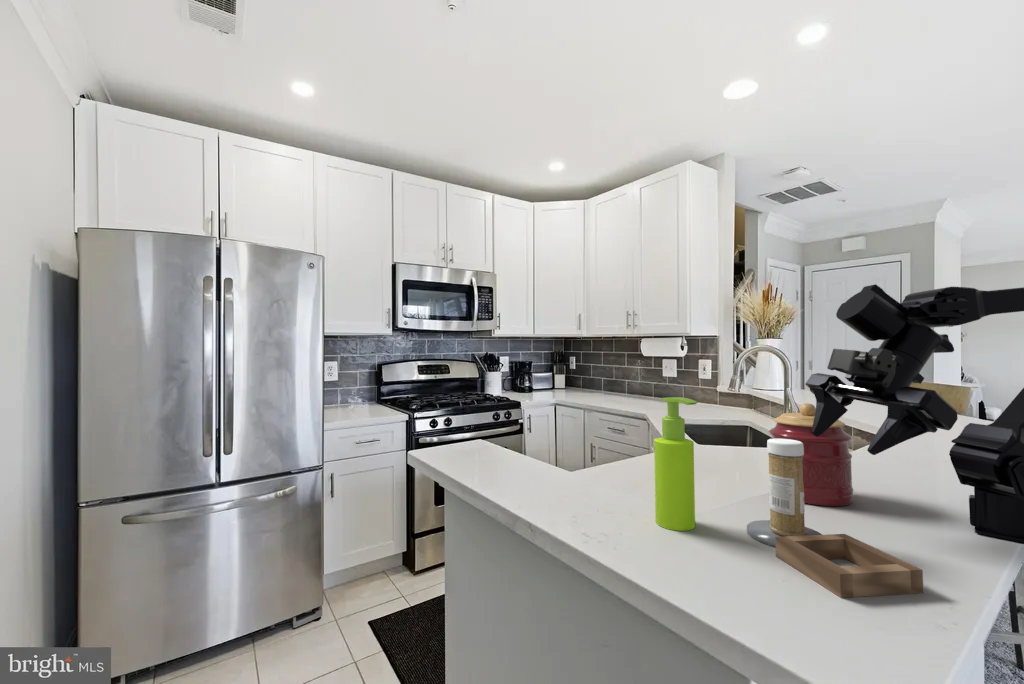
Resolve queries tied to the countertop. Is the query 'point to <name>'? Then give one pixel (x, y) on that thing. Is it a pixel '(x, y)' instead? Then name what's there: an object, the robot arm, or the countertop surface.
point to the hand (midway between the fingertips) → (840, 443)
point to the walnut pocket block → (866, 579)
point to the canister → (819, 457)
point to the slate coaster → (768, 532)
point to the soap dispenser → (674, 471)
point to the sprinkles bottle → (786, 487)
